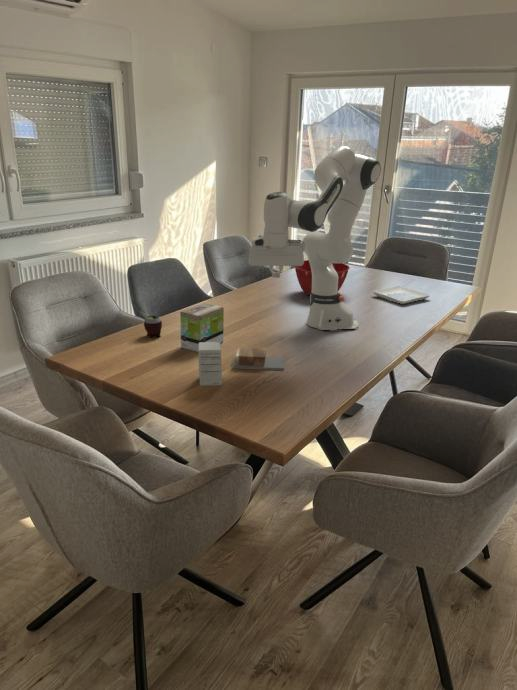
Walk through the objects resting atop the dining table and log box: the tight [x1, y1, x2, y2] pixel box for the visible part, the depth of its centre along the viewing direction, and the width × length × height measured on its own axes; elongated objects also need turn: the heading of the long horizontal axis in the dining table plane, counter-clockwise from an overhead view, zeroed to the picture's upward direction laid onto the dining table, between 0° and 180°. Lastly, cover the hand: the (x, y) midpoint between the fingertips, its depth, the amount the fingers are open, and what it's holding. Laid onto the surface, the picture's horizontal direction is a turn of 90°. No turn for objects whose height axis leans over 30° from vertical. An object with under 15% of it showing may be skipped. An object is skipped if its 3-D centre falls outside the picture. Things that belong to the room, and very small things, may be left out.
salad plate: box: [371, 285, 431, 305], centre depth 271 cm, size 21×21×3 cm
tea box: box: [179, 302, 225, 353], centre depth 204 cm, size 15×10×15 cm, turn 148°
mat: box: [231, 355, 285, 371], centre depth 190 cm, size 18×10×1 cm, turn 86°
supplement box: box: [197, 342, 223, 387], centre depth 174 cm, size 7×7×13 cm
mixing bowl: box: [293, 259, 351, 296], centre depth 274 cm, size 28×28×16 cm
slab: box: [235, 347, 267, 366], centre depth 189 cm, size 4×8×10 cm
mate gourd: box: [143, 298, 166, 339], centre depth 213 cm, size 8×8×15 cm
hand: (276, 277), depth 195 cm, fingers closed
